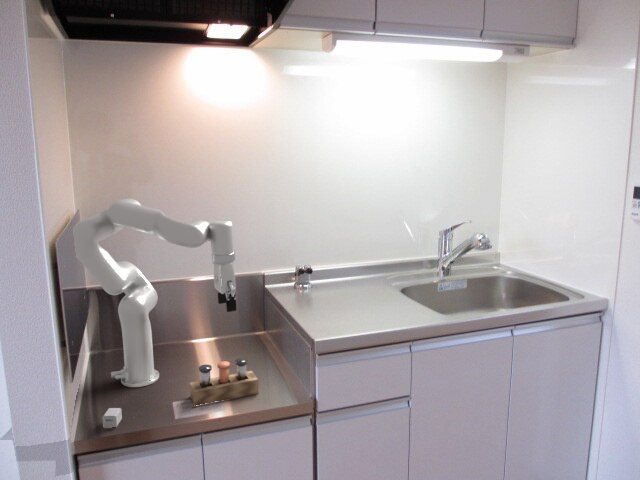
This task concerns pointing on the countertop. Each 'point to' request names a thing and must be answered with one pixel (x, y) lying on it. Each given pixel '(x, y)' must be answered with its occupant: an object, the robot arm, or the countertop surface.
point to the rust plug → (223, 372)
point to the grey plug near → (205, 375)
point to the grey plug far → (241, 368)
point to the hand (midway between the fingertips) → (227, 306)
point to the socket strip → (224, 389)
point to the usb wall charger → (112, 417)
